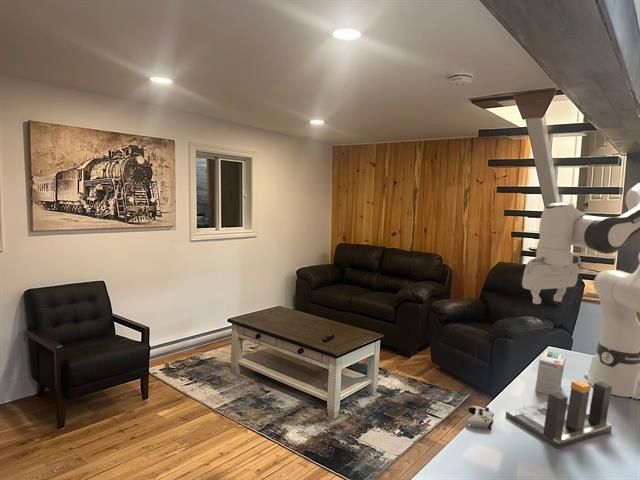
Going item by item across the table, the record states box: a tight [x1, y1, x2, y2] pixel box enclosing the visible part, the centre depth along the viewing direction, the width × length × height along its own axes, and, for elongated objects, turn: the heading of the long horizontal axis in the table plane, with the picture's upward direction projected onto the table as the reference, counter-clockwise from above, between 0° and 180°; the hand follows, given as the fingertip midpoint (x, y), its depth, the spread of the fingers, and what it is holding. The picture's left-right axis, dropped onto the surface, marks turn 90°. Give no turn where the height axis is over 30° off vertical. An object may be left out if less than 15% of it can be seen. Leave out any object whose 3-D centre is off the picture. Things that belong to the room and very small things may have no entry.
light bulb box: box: [534, 350, 566, 396], centre depth 141 cm, size 11×7×11 cm, turn 146°
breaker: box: [566, 379, 592, 431], centre depth 115 cm, size 3×3×12 cm
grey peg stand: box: [505, 382, 613, 450], centre depth 119 cm, size 22×16×12 cm
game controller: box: [465, 405, 495, 430], centre depth 118 cm, size 10×5×6 cm
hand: (547, 302), depth 130 cm, fingers open, 8 cm apart
